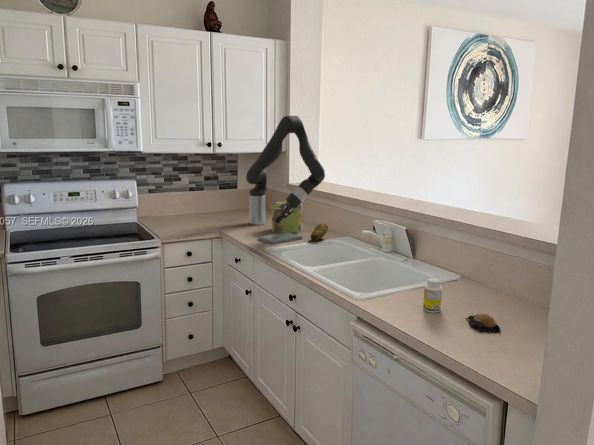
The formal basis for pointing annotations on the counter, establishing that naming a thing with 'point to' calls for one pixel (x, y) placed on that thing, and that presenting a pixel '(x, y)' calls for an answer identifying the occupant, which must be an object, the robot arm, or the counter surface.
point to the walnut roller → (279, 227)
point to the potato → (319, 232)
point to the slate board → (280, 238)
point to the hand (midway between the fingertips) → (274, 221)
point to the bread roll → (483, 323)
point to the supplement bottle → (432, 295)
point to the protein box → (290, 219)
